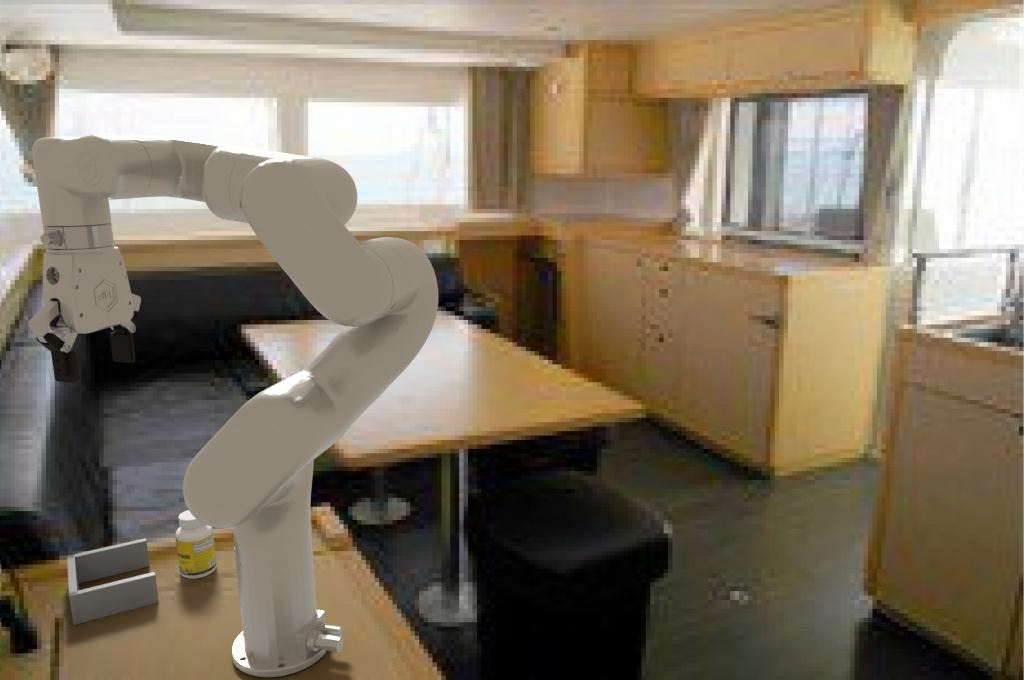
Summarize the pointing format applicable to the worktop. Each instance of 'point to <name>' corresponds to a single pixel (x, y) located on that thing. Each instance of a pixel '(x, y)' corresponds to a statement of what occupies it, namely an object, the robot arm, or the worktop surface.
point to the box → (112, 594)
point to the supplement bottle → (195, 547)
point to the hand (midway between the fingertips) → (97, 371)
